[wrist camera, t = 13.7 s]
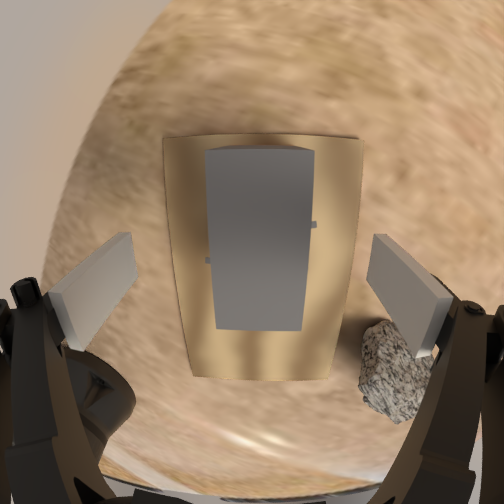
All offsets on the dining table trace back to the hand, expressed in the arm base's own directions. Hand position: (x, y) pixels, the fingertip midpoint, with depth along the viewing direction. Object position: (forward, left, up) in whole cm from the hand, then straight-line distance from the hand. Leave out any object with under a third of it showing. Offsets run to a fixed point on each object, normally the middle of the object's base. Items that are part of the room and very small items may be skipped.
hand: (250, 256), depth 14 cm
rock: (+16, -17, -10) cm, 26 cm away
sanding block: (0, 0, -9) cm, 9 cm away
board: (0, -7, -10) cm, 12 cm away
